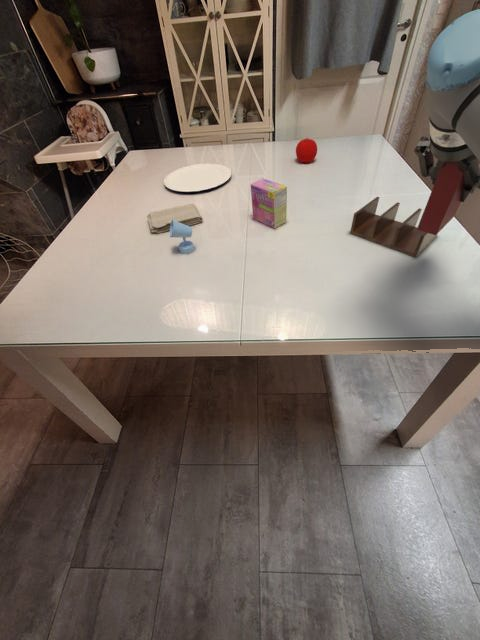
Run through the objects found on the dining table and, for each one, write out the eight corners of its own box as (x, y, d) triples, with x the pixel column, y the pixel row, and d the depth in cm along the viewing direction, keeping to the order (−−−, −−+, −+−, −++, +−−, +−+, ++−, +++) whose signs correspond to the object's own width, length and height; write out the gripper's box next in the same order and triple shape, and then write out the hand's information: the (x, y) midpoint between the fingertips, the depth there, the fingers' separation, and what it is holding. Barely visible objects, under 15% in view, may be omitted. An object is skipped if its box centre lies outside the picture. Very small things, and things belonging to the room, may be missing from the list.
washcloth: (147, 219, 107) (145, 211, 105) (195, 208, 110) (194, 200, 108) (152, 235, 99) (149, 227, 97) (203, 222, 102) (202, 214, 100)
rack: (436, 236, 85) (445, 215, 80) (415, 257, 79) (424, 236, 75) (372, 216, 96) (377, 196, 91) (349, 233, 90) (354, 213, 85)
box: (252, 218, 101) (250, 183, 92) (264, 212, 103) (263, 177, 95) (274, 229, 95) (274, 192, 87) (286, 222, 98) (287, 186, 89)
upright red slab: (456, 214, 68) (491, 141, 57) (435, 235, 63) (470, 159, 52) (437, 209, 70) (467, 138, 59) (416, 229, 65) (445, 155, 54)
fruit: (291, 163, 132) (292, 137, 125) (302, 156, 136) (303, 131, 129) (309, 166, 127) (311, 140, 120) (320, 159, 132) (322, 134, 124)
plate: (236, 165, 135) (236, 161, 134) (225, 194, 116) (224, 190, 114) (175, 167, 140) (174, 164, 139) (154, 195, 120) (153, 191, 119)
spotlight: (175, 256, 89) (197, 251, 90) (166, 226, 82) (190, 221, 83) (173, 247, 93) (195, 243, 94) (165, 218, 86) (188, 213, 86)
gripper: (390, 140, 50) (404, 199, 70) (509, 160, 41) (487, 221, 61) (415, 95, 49) (422, 167, 68) (544, 105, 40) (510, 185, 59)
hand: (453, 192), depth 64 cm, fingers closed on upright red slab, 4 cm apart
